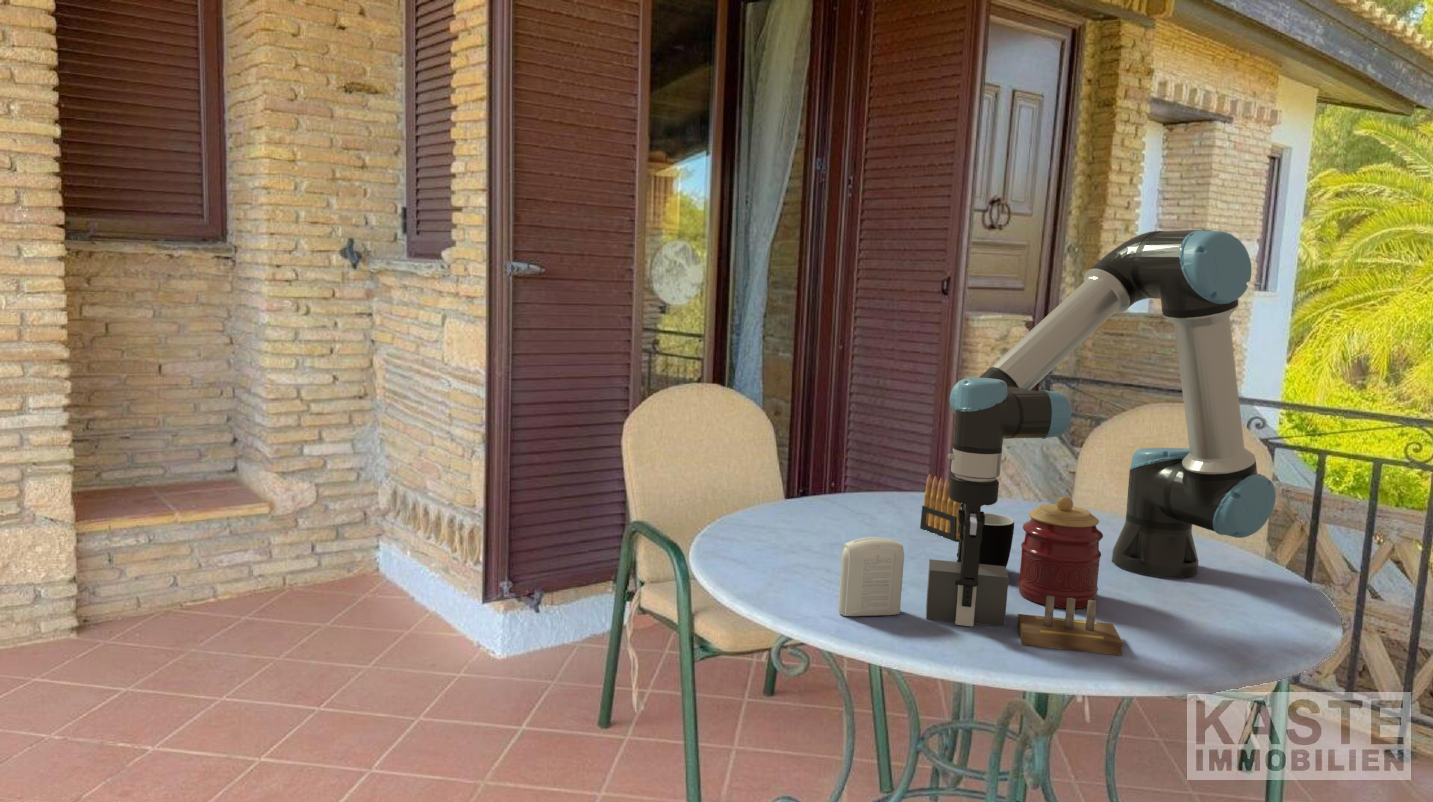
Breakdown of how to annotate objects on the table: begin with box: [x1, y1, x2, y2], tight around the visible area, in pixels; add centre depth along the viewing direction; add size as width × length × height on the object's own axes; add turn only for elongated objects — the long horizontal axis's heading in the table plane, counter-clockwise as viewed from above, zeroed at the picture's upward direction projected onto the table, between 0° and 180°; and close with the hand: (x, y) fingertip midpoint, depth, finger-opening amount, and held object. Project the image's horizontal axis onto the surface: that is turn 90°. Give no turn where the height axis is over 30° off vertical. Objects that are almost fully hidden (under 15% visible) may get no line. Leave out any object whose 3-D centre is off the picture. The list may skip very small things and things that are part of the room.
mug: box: [979, 512, 1015, 567], centre depth 185 cm, size 12×9×10 cm
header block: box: [1017, 596, 1124, 656], centre depth 151 cm, size 14×8×6 cm, turn 78°
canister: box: [1017, 495, 1104, 609], centre depth 170 cm, size 13×13×18 cm
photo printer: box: [837, 536, 905, 617], centre depth 159 cm, size 10×4×12 cm, turn 103°
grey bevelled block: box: [925, 558, 1010, 628], centre depth 159 cm, size 12×6×8 cm, turn 78°
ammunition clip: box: [919, 473, 962, 542], centre depth 208 cm, size 11×2×12 cm, turn 29°
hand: (963, 615), depth 160 cm, fingers open, 8 cm apart
